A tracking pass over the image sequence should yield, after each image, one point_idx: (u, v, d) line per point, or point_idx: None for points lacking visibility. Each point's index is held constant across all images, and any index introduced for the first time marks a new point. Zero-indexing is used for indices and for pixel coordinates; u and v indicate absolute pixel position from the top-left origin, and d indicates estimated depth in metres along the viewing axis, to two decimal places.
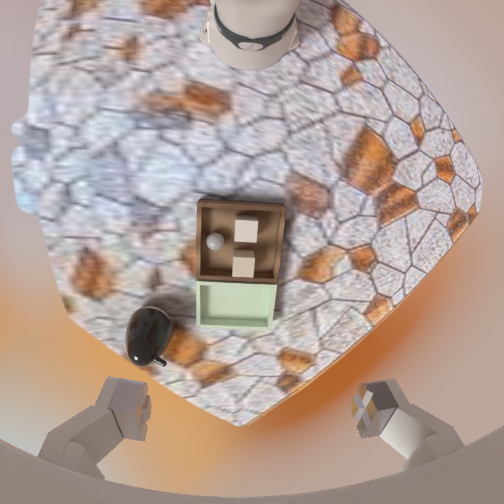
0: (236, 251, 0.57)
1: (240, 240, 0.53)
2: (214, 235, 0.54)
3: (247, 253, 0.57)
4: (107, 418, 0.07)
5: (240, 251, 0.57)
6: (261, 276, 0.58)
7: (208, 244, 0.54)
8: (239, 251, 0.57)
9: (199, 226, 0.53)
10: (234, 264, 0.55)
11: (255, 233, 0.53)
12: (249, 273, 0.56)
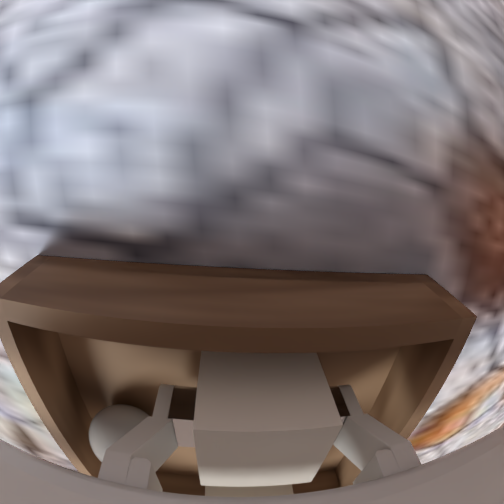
0: None
1: (232, 484, 0.08)
2: (108, 437, 0.09)
3: None
4: (167, 428, 0.07)
5: None
6: None
7: (96, 456, 0.09)
8: None
9: (36, 397, 0.08)
10: None
11: (313, 463, 0.07)
12: None
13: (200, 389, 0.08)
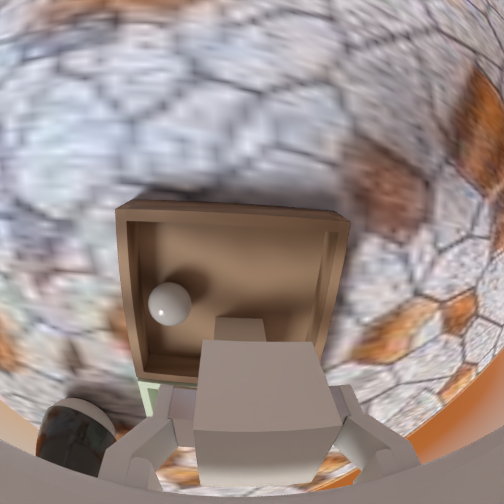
0: (222, 324, 0.23)
1: (231, 484, 0.08)
2: (163, 292, 0.20)
3: (248, 329, 0.23)
4: (167, 428, 0.08)
5: (232, 323, 0.24)
6: None
7: (151, 313, 0.21)
8: (229, 324, 0.24)
9: (125, 270, 0.20)
10: None
11: (313, 463, 0.07)
12: None
13: (200, 389, 0.08)
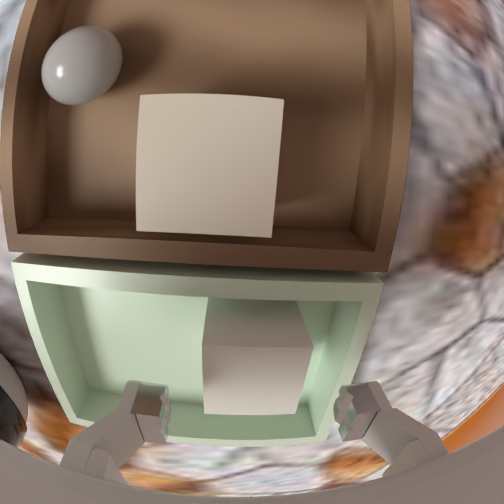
0: None
1: (229, 411, 0.11)
2: None
3: None
4: (130, 422, 0.07)
5: None
6: (309, 240, 0.11)
7: (42, 71, 0.07)
8: None
9: (29, 13, 0.06)
10: (146, 145, 0.07)
11: (295, 389, 0.11)
12: (246, 208, 0.08)
13: (207, 321, 0.11)
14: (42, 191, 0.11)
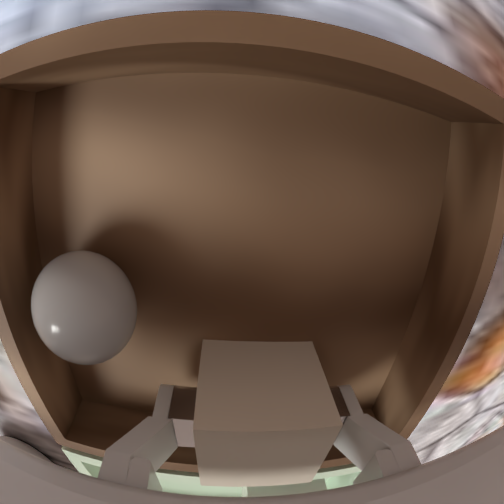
0: (219, 359, 0.09)
1: None
2: (53, 276, 0.06)
3: (286, 373, 0.09)
4: (167, 428, 0.07)
5: (244, 357, 0.09)
6: None
7: (37, 329, 0.06)
8: (235, 359, 0.09)
9: None
10: (206, 456, 0.07)
11: None
12: (294, 475, 0.08)
13: (249, 489, 0.11)
14: (71, 386, 0.10)
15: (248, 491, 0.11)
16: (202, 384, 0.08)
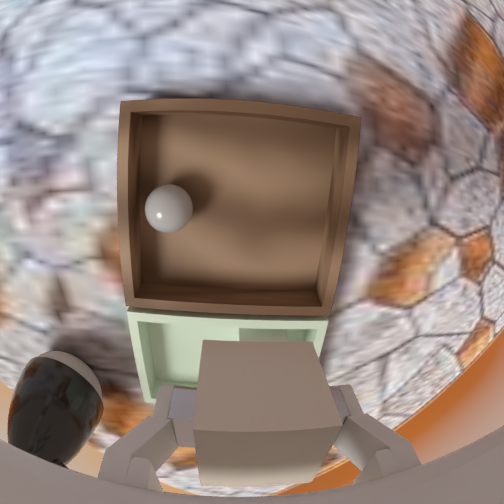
0: (219, 359, 0.09)
1: None
2: (163, 190, 0.18)
3: (286, 373, 0.09)
4: (167, 428, 0.07)
5: (244, 357, 0.09)
6: (290, 300, 0.23)
7: (148, 215, 0.19)
8: (235, 359, 0.09)
9: (124, 165, 0.17)
10: (206, 456, 0.07)
11: None
12: (294, 475, 0.08)
13: (240, 338, 0.23)
14: (140, 269, 0.22)
15: (240, 339, 0.23)
16: (202, 384, 0.08)
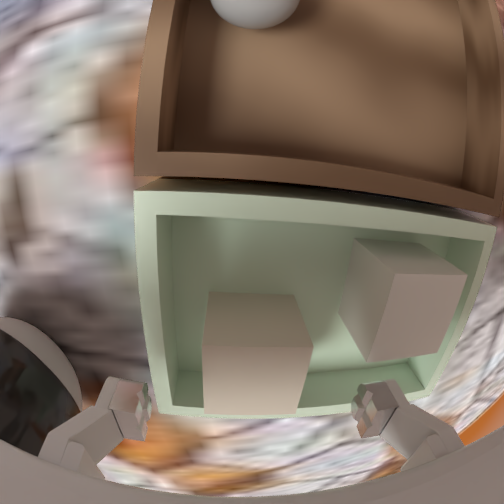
0: (221, 303, 0.13)
1: (390, 356, 0.11)
2: None
3: (272, 313, 0.12)
4: (107, 418, 0.07)
5: (240, 302, 0.13)
6: (451, 186, 0.11)
7: None
8: (234, 303, 0.13)
9: None
10: (210, 375, 0.10)
11: (445, 322, 0.10)
12: (280, 403, 0.11)
13: (379, 257, 0.11)
14: (173, 116, 0.10)
15: (379, 258, 0.11)
16: (209, 318, 0.11)
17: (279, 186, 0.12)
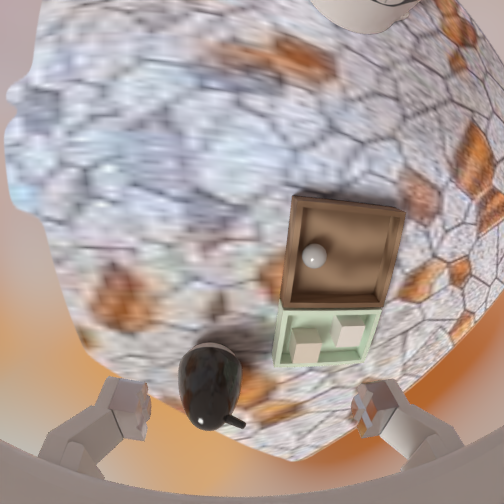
0: (297, 332, 0.44)
1: (342, 346, 0.42)
2: (316, 248, 0.38)
3: (311, 334, 0.44)
4: (107, 418, 0.07)
5: (301, 331, 0.45)
6: (364, 299, 0.42)
7: (307, 260, 0.38)
8: (300, 332, 0.44)
9: (297, 235, 0.37)
10: (297, 351, 0.42)
11: (360, 337, 0.42)
12: (313, 359, 0.43)
13: (339, 321, 0.42)
14: None
15: (339, 321, 0.42)
16: (295, 336, 0.43)
17: None
